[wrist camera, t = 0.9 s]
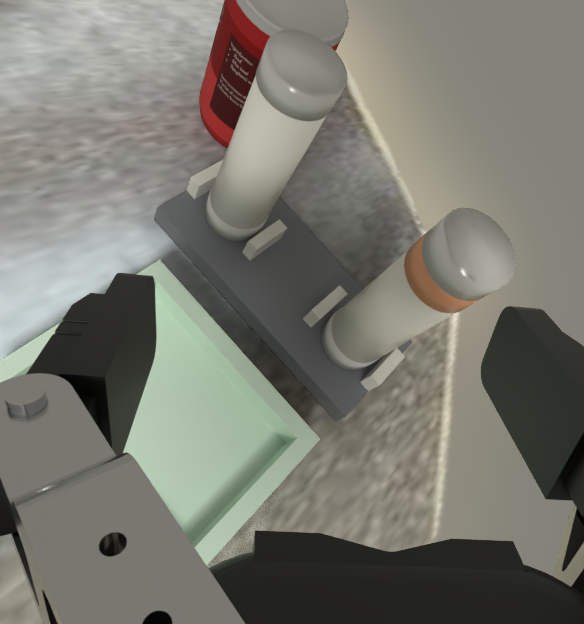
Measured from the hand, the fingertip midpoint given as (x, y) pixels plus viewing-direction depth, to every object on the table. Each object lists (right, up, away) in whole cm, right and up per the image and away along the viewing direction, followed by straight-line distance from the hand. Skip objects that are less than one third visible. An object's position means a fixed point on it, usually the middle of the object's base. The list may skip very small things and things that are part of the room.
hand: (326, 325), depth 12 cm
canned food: (-5, +16, +29) cm, 33 cm away
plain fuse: (-5, +7, +23) cm, 24 cm away
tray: (-9, -6, +17) cm, 20 cm away
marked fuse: (+3, -2, +22) cm, 22 cm away
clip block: (-1, +2, +24) cm, 24 cm away
